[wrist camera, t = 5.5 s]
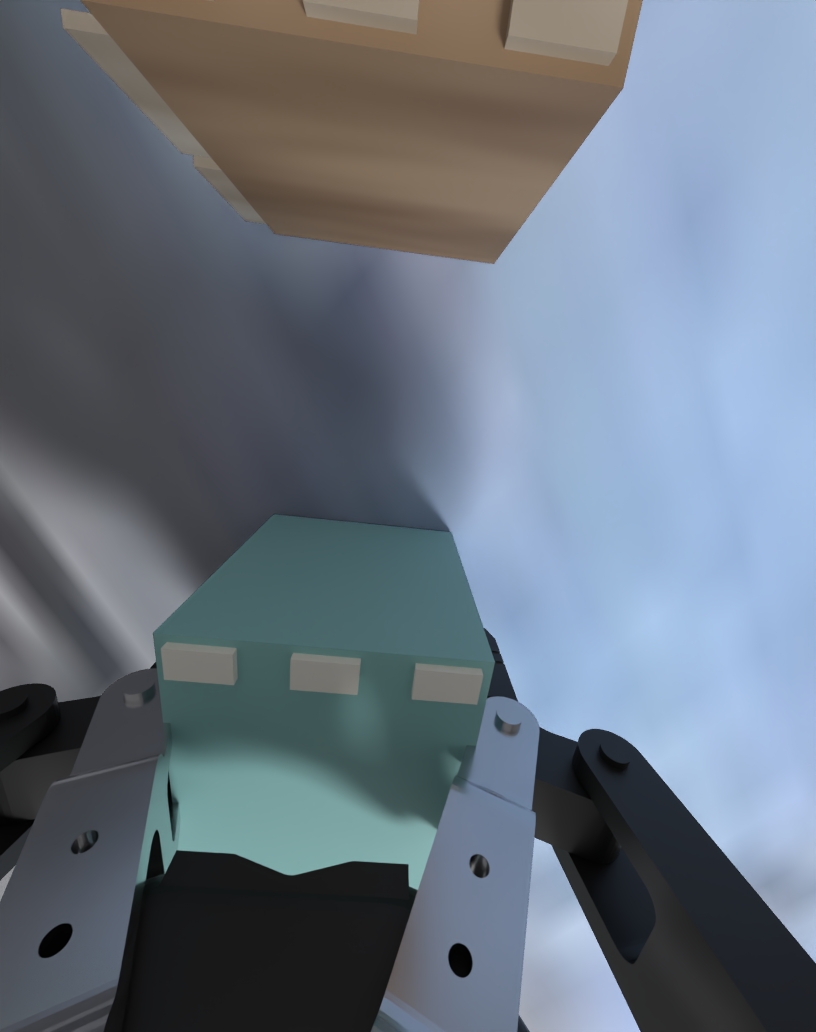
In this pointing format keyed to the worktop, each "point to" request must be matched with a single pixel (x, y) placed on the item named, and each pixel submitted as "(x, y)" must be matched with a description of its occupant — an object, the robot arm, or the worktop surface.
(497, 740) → the robot arm
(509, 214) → the brown block
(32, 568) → the worktop surface
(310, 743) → the teal block
